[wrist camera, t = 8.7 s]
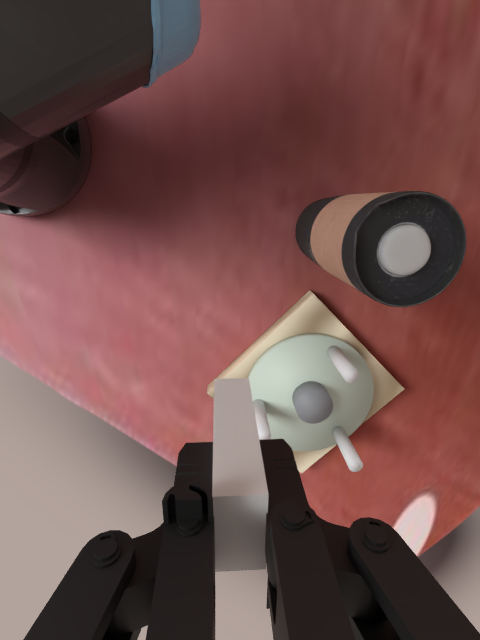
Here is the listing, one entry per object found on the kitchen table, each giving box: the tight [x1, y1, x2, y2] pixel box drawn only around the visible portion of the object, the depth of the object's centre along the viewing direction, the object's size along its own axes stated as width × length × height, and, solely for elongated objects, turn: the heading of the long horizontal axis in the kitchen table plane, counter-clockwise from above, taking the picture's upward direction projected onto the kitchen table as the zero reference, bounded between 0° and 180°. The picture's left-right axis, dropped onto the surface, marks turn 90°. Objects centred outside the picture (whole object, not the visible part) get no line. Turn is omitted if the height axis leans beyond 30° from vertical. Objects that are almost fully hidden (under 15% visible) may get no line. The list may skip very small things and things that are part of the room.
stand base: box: [207, 290, 404, 473], centre depth 47 cm, size 18×18×3 cm
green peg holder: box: [248, 333, 374, 472], centre depth 42 cm, size 16×16×8 cm
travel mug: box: [296, 191, 466, 307], centre depth 33 cm, size 8×8×20 cm
